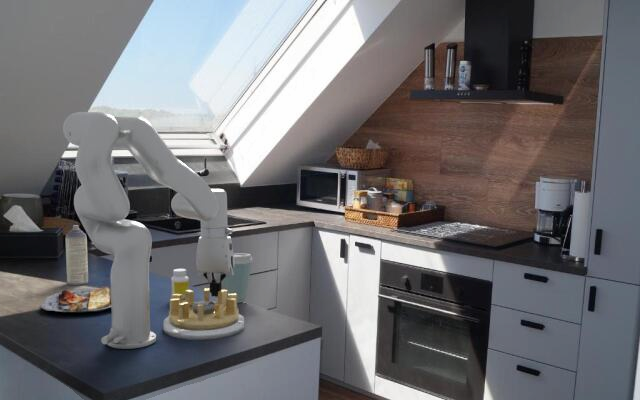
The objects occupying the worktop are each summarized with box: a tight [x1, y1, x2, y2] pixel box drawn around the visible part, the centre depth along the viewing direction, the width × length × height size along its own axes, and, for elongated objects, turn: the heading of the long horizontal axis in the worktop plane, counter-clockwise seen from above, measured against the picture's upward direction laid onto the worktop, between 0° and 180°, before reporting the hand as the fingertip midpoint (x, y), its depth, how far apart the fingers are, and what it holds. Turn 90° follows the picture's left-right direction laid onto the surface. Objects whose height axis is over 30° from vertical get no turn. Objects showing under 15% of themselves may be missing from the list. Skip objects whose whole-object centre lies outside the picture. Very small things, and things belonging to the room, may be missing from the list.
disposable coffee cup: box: [221, 252, 254, 304], centre depth 225 cm, size 11×11×15 cm
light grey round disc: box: [163, 313, 245, 341], centre depth 198 cm, size 22×22×2 cm
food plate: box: [40, 286, 111, 314], centre depth 219 cm, size 25×23×4 cm
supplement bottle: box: [170, 268, 190, 303], centre depth 225 cm, size 5×5×10 cm
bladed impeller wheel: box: [168, 287, 240, 330], centre depth 198 cm, size 19×19×6 cm
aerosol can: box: [65, 224, 89, 286], centre depth 245 cm, size 7×7×20 cm
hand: (215, 295), depth 206 cm, fingers closed
